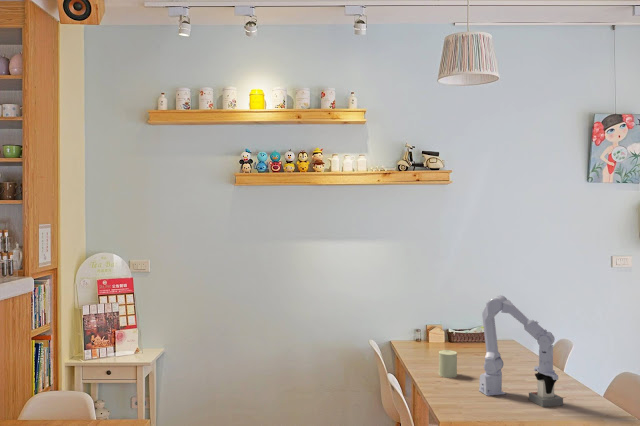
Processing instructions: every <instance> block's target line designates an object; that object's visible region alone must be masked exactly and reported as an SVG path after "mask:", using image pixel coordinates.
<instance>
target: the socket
mask: <svg viewBox="0 0 640 426" xmlns="http://www.w3.org/2000/svg"><path fill="white" fill-rule="evenodd" d="M537 394H538V391H532V392H528V400H529V401H531V402H532V403H535V404H536V405H537V406H540V407H542V408H547V407H557V406H564V398H563V397H562V396H559V395H557V394H555V393H554V397H549V398H541V397H540V396H538V395H537Z"/></svg>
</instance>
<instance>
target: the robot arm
mask: <svg viewBox="0 0 640 426" xmlns="http://www.w3.org/2000/svg"><path fill="white" fill-rule="evenodd" d="M499 312H500V313H503V314H509V315H511V316H512V317H513V318H514V319H515V320H517V321H518V322H519V323H520V324H522V326H523V327H524V331H526V333H528V334H529V335H530V336H531V337H532V338H533V339H535V341H536V340H537V344H538V348H539V349H538V365H535V366H534V365H533V371H534V372H537V373H534V376H535V378H536V380H537V381H538V380H543V379H544V382H545V387H546V393H547V394H550V393H551V392H552V389H553V386H554V387H555V383H556V382H557V381H559V374H557V373H555V372H556V370H554V345H553V344H554V343H555V336H554V335H553V333H552V332H550V331H548V330H547V329H546V328H545V329H544V328H543V327H542V326H541V325H540V324H539V322H538V321H537V320H533V319H529V318H528V317H527V316H526V315H525V314H524V313H523V312H522V311H521V310H520V309H518V307H516V305H515V304H514V303H512V301H511V300H509V299H508V298H507V297H505V296H504V295H501V294H500V295H497V296H496V297H492V298H490V299H489V300H488V301H486V303H485V306H484V309H483V311H482V314H481V316H482V317H481V318H482V326H483V332H484V333H483V334H484V335H483V336H484V343H485V351H486V353H485V356H484V363H483V369H484V371H485V372H484V373H481V374H480V375H479V381H478V383H479V387H478V388H479V389H478V392H480V393H483V395H485V396H487V397H488V396H500V395H506V392H504V391H503V390H502V387H503V386H502V385H503V384H502V383H503V382H502V381H503V379H502V378H503V374H502V373H503V372H502V369H503V368H504V361H503V359H502V356H501V353H500V352H499V346H498V339H497V338H498V337H497V329H496V321H495V320H496V319H495V317H496V316H497V315H498V314H499Z"/></svg>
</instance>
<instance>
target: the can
mask: <svg viewBox="0 0 640 426" xmlns="http://www.w3.org/2000/svg"><path fill="white" fill-rule="evenodd" d="M438 376H439V377H441V378H447V379H449V378H451V379H453V378H457V377H458V352H457V351H455V350H449V349H448V350H447V349H444V350H443V349H442V350H439V351H438Z"/></svg>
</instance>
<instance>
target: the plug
mask: <svg viewBox="0 0 640 426" xmlns="http://www.w3.org/2000/svg"><path fill="white" fill-rule="evenodd" d="M537 392H538V394H537V395H538V396H540V397H541V398H549V397H554V394H555V385H554V386H553V389H552V392H551V393H550V394H547V393H546V387H545V382H544V379H543V380H537Z"/></svg>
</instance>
